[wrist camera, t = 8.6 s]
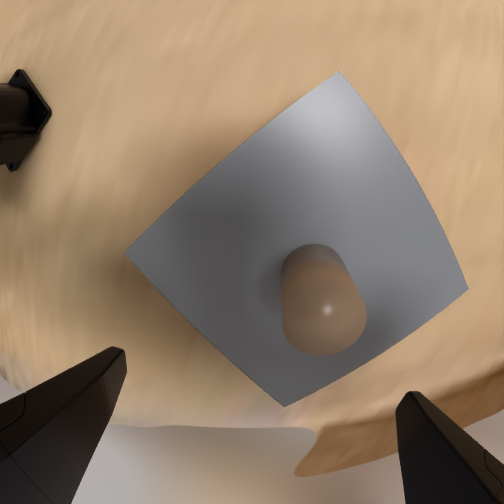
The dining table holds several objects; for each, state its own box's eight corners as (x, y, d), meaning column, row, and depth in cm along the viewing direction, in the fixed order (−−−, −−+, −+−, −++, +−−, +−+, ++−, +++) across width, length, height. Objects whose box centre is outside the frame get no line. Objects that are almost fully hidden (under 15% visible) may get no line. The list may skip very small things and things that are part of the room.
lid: (130, 247, 15) (81, 289, 10) (335, 74, 11) (366, 43, 7) (284, 398, 18) (283, 458, 13) (461, 282, 14) (506, 327, 10)
